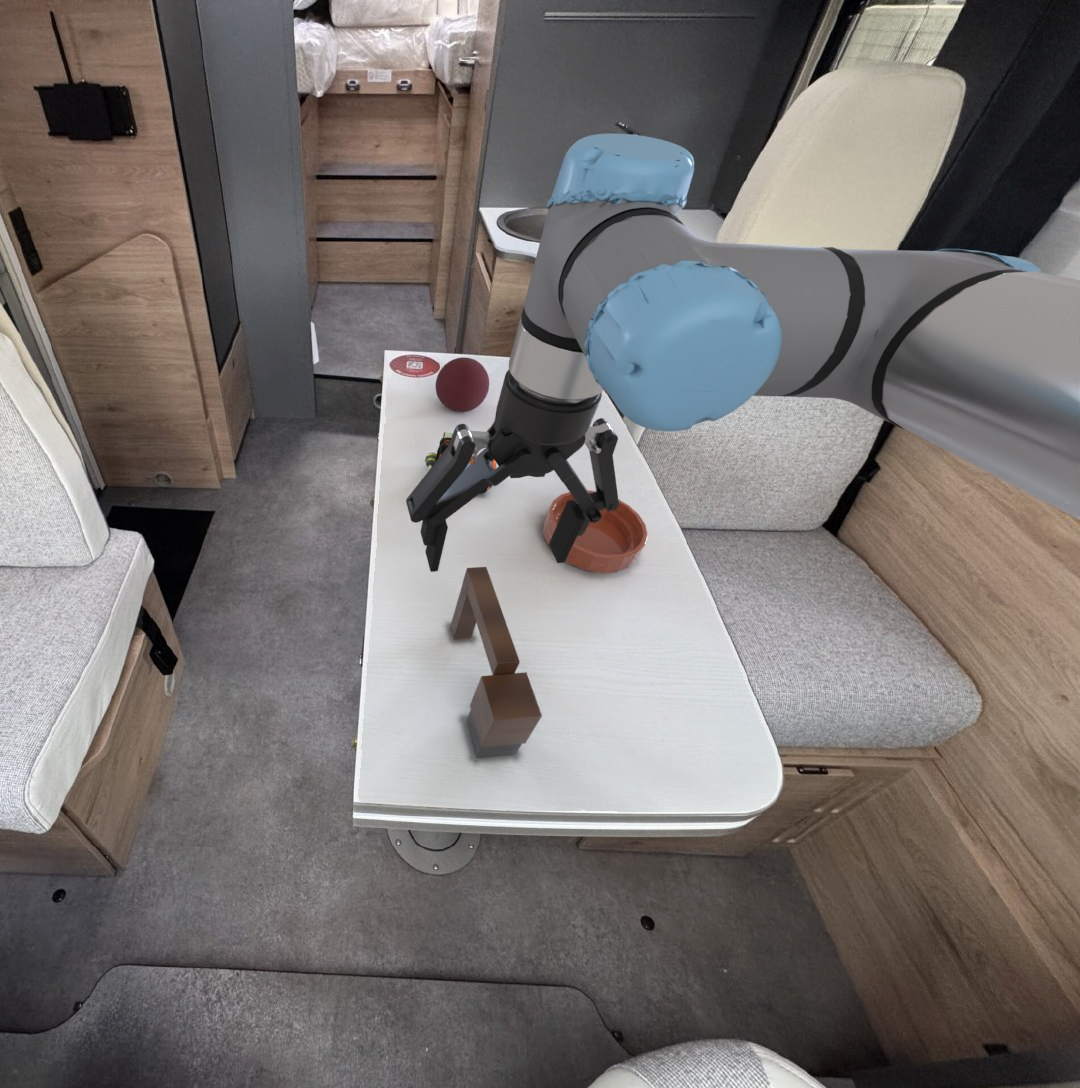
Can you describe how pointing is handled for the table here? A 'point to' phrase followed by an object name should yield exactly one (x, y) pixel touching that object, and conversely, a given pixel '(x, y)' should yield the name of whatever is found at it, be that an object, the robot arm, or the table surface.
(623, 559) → the bowl
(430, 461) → the toy car
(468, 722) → the brown wooden mallet
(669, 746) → the table surface
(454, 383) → the decorative ball
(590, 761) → the table surface
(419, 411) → the table surface
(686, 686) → the table surface
